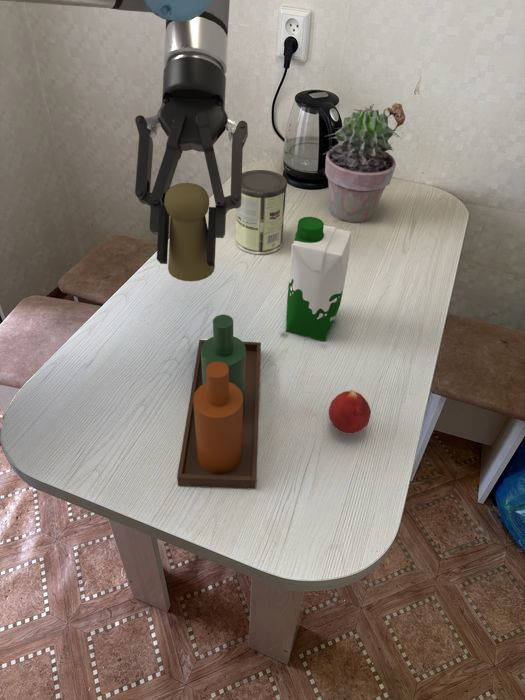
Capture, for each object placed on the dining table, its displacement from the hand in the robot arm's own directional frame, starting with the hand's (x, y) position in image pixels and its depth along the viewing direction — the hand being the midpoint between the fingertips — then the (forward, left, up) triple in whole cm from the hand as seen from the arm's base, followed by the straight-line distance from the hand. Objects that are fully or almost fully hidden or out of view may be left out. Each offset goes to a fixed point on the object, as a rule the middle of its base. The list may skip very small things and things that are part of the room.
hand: (186, 262), depth 61 cm
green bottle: (+4, -3, -24) cm, 24 cm away
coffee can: (+8, +45, -25) cm, 52 cm away
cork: (0, +4, -3) cm, 5 cm away
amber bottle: (+4, -11, -24) cm, 27 cm away
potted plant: (+29, +60, -25) cm, 71 cm away
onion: (+22, -5, -25) cm, 34 cm away
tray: (+4, -3, -24) cm, 25 cm away
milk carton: (+18, +18, -25) cm, 36 cm away
